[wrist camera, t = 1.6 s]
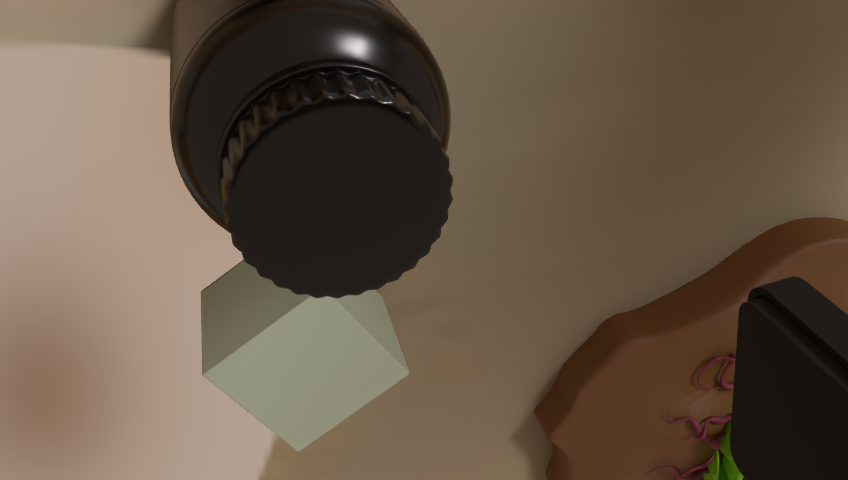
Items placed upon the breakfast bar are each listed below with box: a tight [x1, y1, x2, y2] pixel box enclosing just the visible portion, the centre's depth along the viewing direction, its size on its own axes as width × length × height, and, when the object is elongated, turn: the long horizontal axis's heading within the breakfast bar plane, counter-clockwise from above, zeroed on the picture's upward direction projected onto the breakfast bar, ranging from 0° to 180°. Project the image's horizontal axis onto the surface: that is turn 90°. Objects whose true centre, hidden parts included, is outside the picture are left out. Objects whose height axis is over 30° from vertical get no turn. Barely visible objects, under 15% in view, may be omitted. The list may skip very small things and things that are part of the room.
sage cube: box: [201, 260, 410, 452], centre depth 29 cm, size 5×5×5 cm
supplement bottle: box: [170, 0, 453, 299], centre depth 21 cm, size 7×7×12 cm
